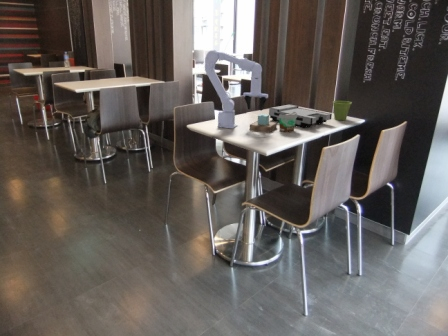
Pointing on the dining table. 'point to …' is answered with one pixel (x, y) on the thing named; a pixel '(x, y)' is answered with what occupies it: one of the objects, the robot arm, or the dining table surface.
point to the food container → (287, 122)
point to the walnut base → (263, 127)
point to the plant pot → (341, 109)
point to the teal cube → (263, 119)
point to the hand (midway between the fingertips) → (255, 109)
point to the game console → (300, 115)
